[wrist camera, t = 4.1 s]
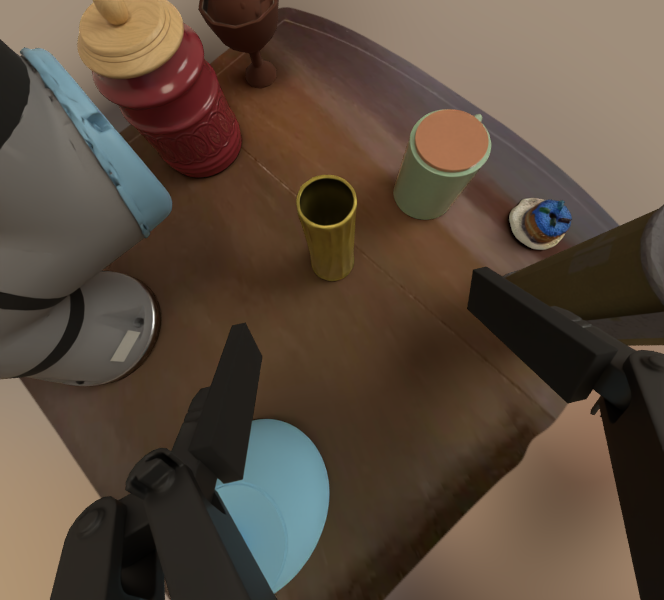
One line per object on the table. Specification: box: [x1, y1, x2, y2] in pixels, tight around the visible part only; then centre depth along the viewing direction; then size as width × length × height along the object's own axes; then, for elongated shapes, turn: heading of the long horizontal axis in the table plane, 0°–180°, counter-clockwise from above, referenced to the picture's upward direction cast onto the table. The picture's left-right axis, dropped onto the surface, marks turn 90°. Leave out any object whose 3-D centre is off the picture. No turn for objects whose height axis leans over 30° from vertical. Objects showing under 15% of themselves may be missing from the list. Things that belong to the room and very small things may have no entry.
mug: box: [393, 109, 491, 220], centre depth 32 cm, size 9×12×9 cm
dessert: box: [509, 198, 572, 250], centre depth 33 cm, size 8×7×6 cm
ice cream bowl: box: [199, 0, 279, 88], centre depth 34 cm, size 11×11×15 cm
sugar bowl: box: [215, 419, 329, 593], centre depth 24 cm, size 15×15×12 cm
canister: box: [503, 205, 664, 346], centre depth 22 cm, size 11×10×20 cm
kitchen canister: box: [77, 0, 242, 177], centre depth 31 cm, size 13×13×18 cm
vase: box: [296, 175, 357, 281], centre depth 27 cm, size 6×6×14 cm
